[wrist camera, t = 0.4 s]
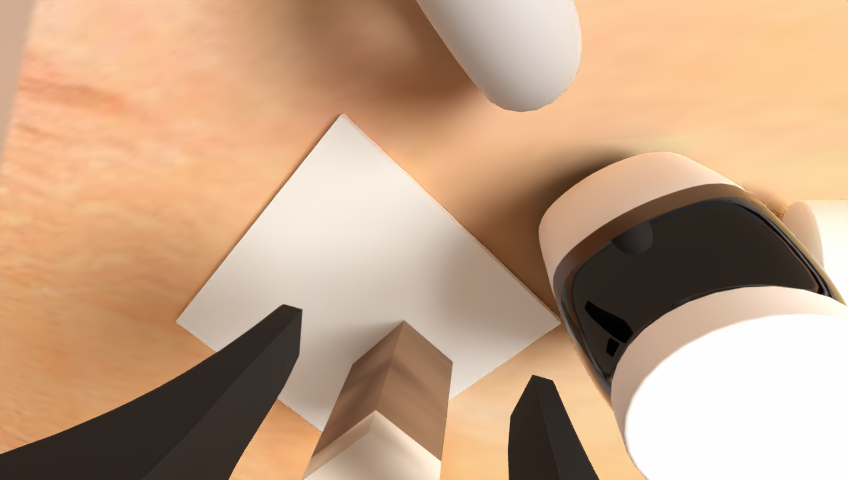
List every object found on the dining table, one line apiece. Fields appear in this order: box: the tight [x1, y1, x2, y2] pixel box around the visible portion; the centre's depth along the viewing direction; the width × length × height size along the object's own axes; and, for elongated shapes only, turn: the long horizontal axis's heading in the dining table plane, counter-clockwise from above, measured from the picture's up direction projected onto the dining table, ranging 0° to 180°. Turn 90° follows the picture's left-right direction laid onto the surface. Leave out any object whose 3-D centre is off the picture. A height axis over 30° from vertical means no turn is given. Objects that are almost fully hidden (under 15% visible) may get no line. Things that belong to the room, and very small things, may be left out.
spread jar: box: [539, 151, 848, 480], centre depth 15 cm, size 12×11×12 cm
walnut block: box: [302, 320, 453, 480], centre depth 22 cm, size 5×4×8 cm
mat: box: [175, 114, 561, 432], centre depth 25 cm, size 18×16×1 cm
